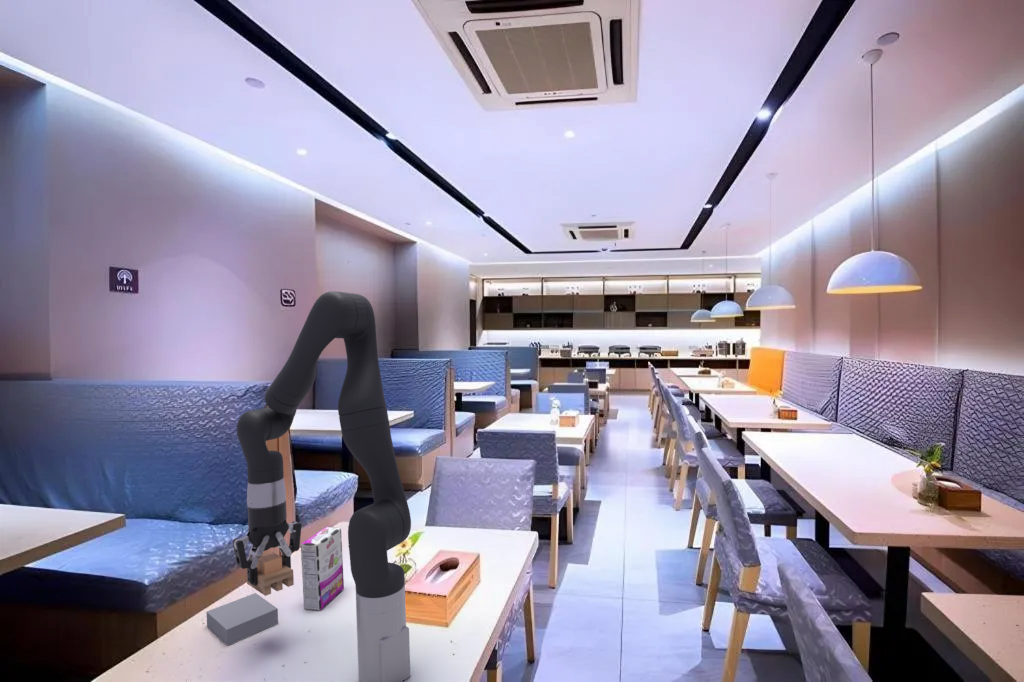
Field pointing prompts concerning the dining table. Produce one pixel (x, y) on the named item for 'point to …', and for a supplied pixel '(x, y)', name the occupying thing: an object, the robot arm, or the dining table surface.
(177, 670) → the dining table surface
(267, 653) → the dining table surface
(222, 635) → the dock
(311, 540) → the candy bar box
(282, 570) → the pallet
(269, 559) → the block
